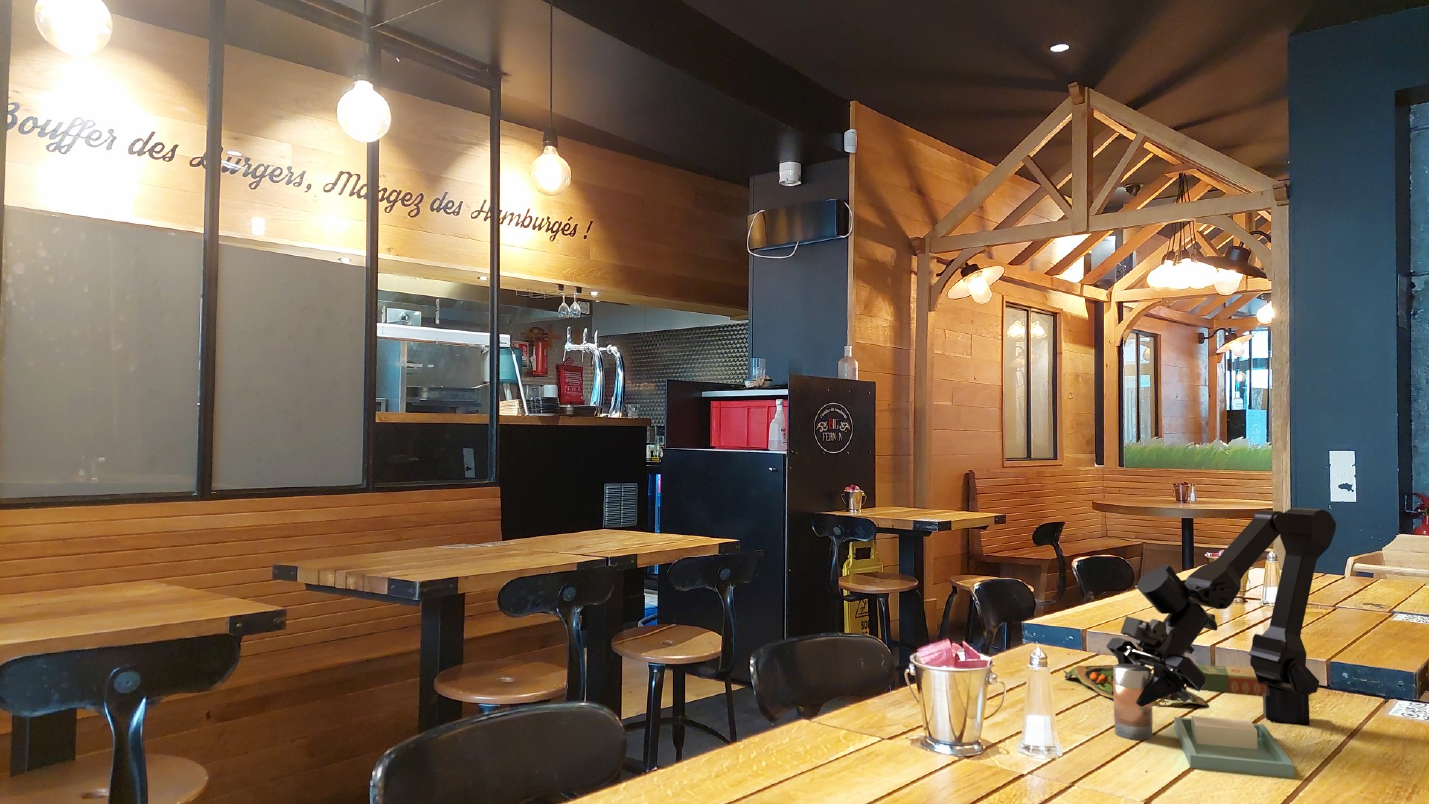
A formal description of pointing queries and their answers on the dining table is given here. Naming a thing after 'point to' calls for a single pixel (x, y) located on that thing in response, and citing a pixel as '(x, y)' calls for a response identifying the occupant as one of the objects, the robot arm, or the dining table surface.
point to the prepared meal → (1103, 681)
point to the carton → (1231, 680)
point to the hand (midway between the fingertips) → (1125, 700)
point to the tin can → (1131, 702)
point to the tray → (1235, 753)
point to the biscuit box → (1224, 732)
